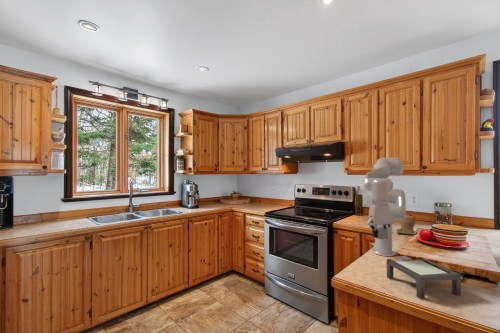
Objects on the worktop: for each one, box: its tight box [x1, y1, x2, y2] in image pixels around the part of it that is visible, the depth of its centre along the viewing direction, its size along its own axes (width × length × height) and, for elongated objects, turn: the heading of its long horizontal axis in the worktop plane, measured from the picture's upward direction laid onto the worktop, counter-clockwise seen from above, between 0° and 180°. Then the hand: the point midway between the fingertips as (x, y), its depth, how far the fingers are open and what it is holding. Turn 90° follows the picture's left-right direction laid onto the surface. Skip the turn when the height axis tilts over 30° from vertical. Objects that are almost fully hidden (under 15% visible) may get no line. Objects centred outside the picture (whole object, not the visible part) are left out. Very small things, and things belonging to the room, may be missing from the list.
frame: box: [386, 256, 462, 300], centre depth 109 cm, size 20×20×9 cm
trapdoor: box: [394, 255, 447, 275], centre depth 111 cm, size 19×14×2 cm
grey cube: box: [377, 227, 388, 239], centre depth 125 cm, size 5×5×5 cm
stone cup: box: [396, 215, 416, 235], centre depth 194 cm, size 15×12×15 cm
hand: (380, 236), depth 125 cm, fingers closed on grey cube, 5 cm apart
